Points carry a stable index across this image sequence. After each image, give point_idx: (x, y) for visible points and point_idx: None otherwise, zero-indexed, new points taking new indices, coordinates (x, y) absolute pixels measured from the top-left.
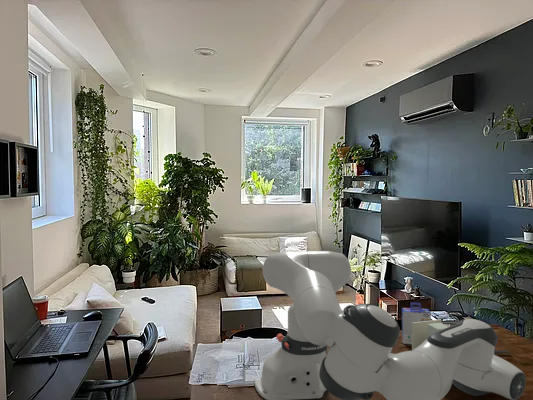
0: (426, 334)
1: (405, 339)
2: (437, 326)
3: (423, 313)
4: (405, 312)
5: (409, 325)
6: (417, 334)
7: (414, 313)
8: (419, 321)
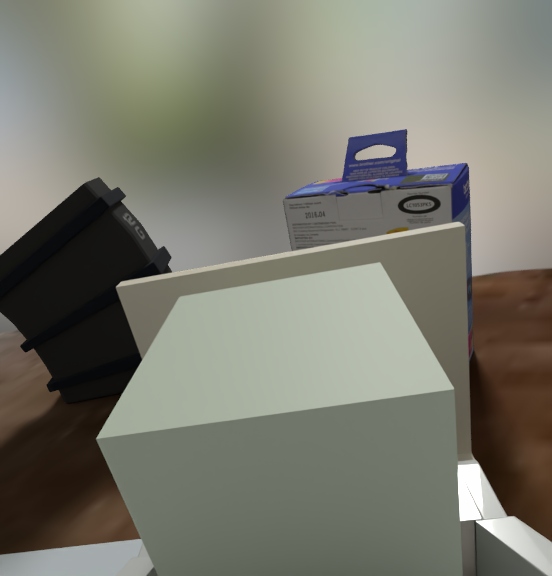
0: None
1: None
2: (223, 345)
3: (398, 193)
4: (293, 202)
5: None
6: None
7: (343, 201)
8: None
